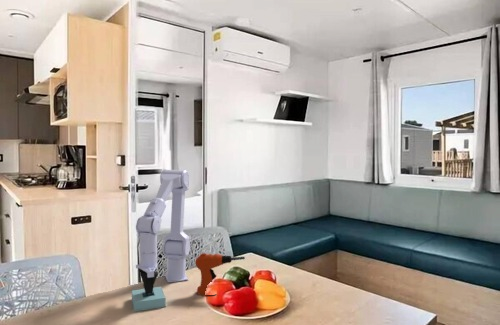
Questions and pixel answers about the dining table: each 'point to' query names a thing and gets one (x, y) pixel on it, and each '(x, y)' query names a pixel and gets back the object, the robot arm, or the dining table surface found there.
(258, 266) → the dining table surface
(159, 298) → the block
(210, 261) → the toy drill
